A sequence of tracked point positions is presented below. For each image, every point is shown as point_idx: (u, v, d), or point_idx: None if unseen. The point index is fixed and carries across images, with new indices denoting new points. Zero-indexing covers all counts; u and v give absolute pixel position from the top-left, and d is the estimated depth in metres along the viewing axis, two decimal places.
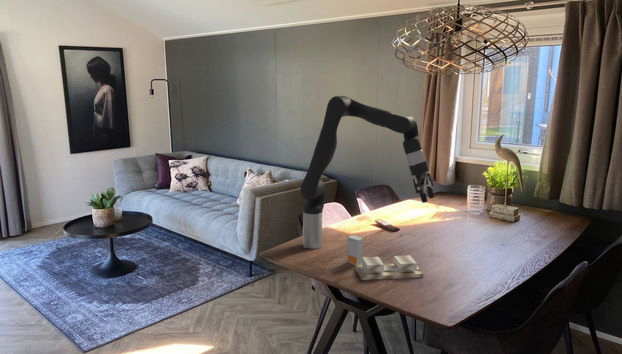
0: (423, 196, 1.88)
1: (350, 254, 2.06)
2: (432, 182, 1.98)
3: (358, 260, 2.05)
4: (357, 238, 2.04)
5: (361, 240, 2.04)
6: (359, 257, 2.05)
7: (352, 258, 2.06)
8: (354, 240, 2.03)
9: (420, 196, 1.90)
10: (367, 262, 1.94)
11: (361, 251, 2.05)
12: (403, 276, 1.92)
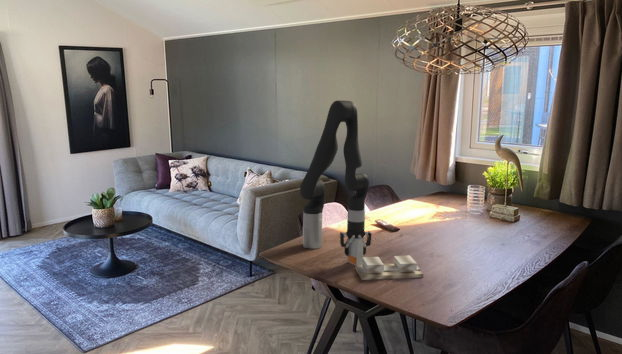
0: (345, 250, 2.06)
1: (350, 254, 2.06)
2: (370, 242, 2.06)
3: (358, 260, 2.05)
4: (357, 238, 2.04)
5: (361, 240, 2.04)
6: (359, 257, 2.05)
7: (352, 258, 2.06)
8: (354, 240, 2.03)
9: None
10: (367, 262, 1.94)
11: (361, 251, 2.05)
12: (403, 276, 1.92)
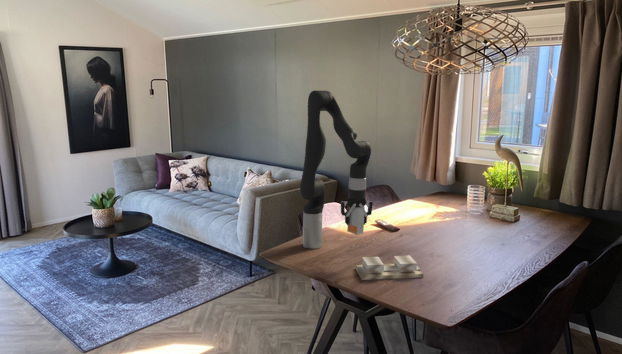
0: (345, 219, 2.03)
1: (350, 223, 2.04)
2: (371, 211, 2.03)
3: (359, 229, 2.02)
4: (358, 207, 2.01)
5: (362, 209, 2.01)
6: (360, 226, 2.02)
7: (352, 227, 2.03)
8: (355, 209, 2.01)
9: None
10: (367, 262, 1.94)
11: (362, 220, 2.02)
12: (403, 276, 1.92)
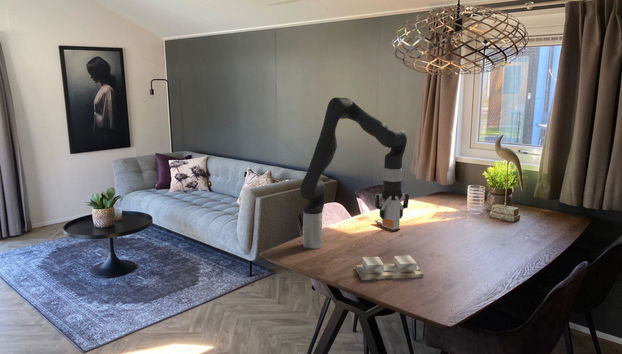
0: (380, 213, 1.91)
1: (385, 217, 1.92)
2: (407, 204, 1.91)
3: (395, 223, 1.91)
4: (394, 200, 1.90)
5: (398, 202, 1.90)
6: (396, 220, 1.91)
7: (388, 221, 1.92)
8: (391, 201, 1.89)
9: None
10: (367, 262, 1.94)
11: (398, 214, 1.91)
12: (403, 276, 1.92)
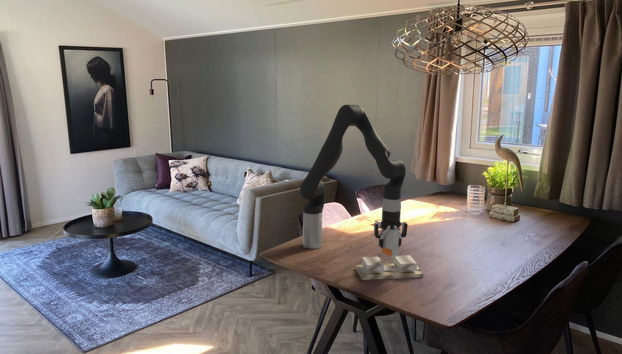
0: (379, 241, 1.94)
1: (384, 246, 1.95)
2: (405, 233, 1.94)
3: (394, 252, 1.93)
4: (392, 229, 1.92)
5: (397, 231, 1.92)
6: (395, 249, 1.93)
7: (387, 250, 1.94)
8: (389, 231, 1.92)
9: None
10: (367, 262, 1.94)
11: (397, 243, 1.94)
12: (403, 276, 1.92)
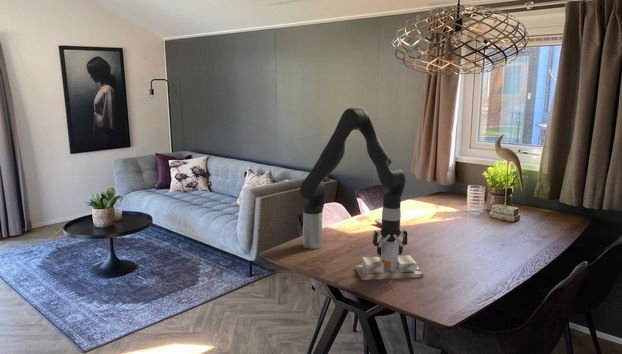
0: (377, 249, 1.94)
1: (384, 258, 1.96)
2: (406, 241, 1.95)
3: (393, 265, 1.94)
4: (392, 242, 1.93)
5: (396, 244, 1.93)
6: (394, 261, 1.94)
7: (386, 263, 1.95)
8: (389, 244, 1.93)
9: None
10: (367, 262, 1.94)
11: (396, 255, 1.95)
12: (403, 276, 1.92)
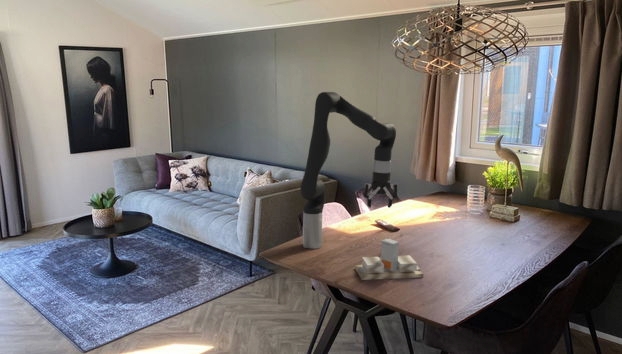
0: (367, 201, 2.00)
1: (384, 258, 1.96)
2: (396, 194, 2.00)
3: (393, 265, 1.94)
4: (392, 242, 1.93)
5: (396, 244, 1.93)
6: (394, 261, 1.94)
7: (386, 263, 1.95)
8: (389, 244, 1.93)
9: None
10: (367, 262, 1.94)
11: (396, 255, 1.95)
12: (403, 276, 1.92)
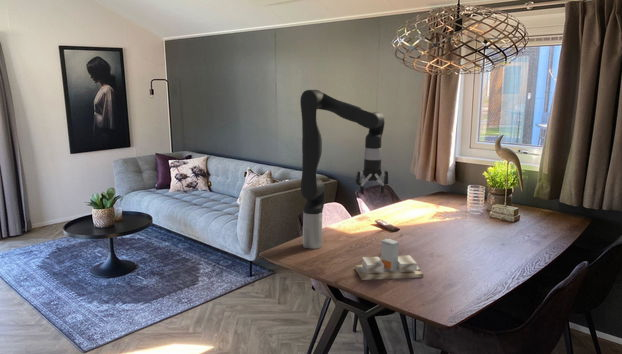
0: (360, 188, 2.07)
1: (384, 258, 1.96)
2: (387, 180, 2.07)
3: (393, 265, 1.94)
4: (392, 242, 1.93)
5: (396, 244, 1.93)
6: (394, 261, 1.94)
7: (386, 263, 1.95)
8: (389, 244, 1.93)
9: None
10: (367, 262, 1.94)
11: (396, 255, 1.95)
12: (403, 276, 1.92)
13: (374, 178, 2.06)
